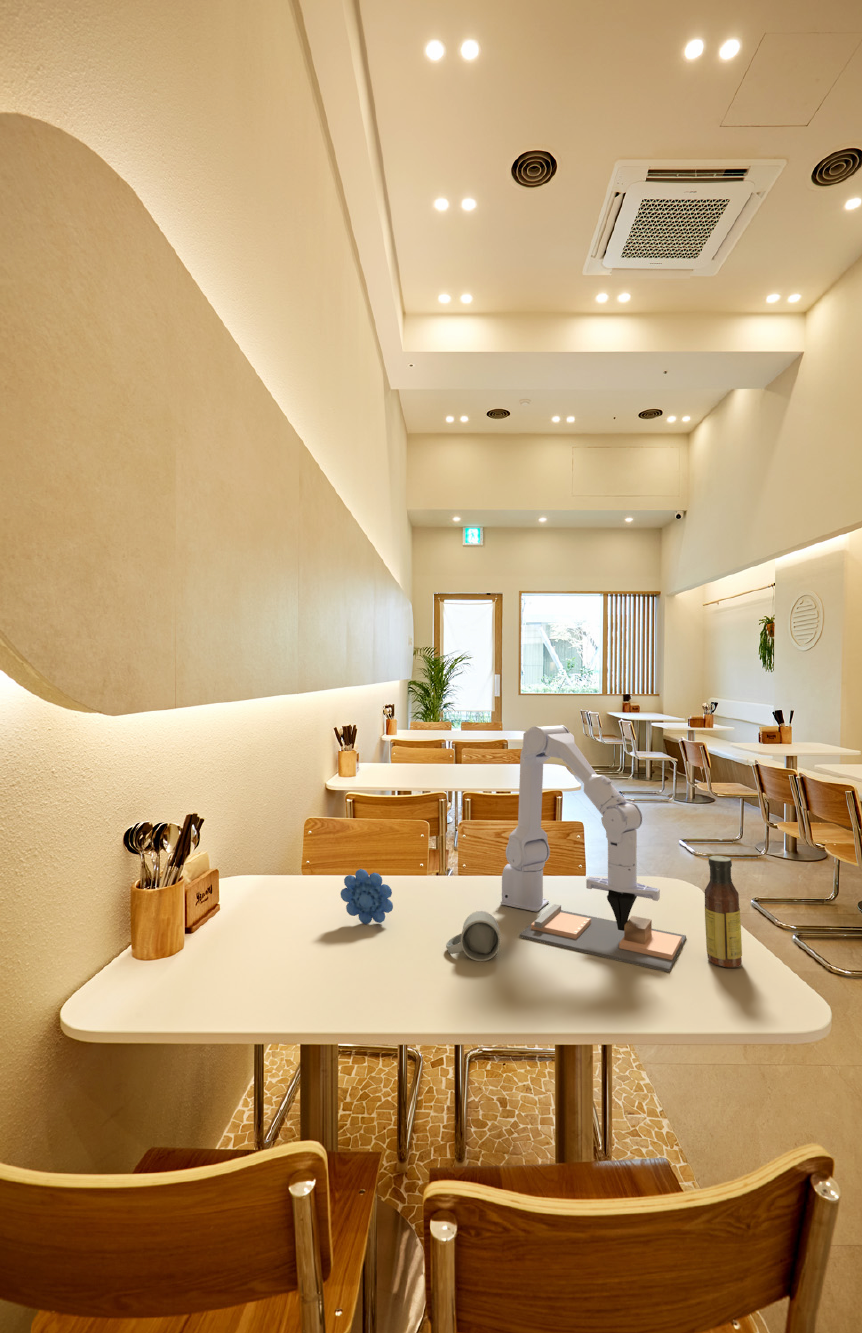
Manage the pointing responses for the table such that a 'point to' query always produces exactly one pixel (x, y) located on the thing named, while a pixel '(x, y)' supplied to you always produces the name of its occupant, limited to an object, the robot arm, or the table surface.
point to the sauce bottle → (722, 915)
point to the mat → (603, 943)
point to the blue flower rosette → (367, 896)
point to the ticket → (561, 923)
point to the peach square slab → (648, 939)
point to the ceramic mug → (477, 937)
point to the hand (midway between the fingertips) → (622, 928)
